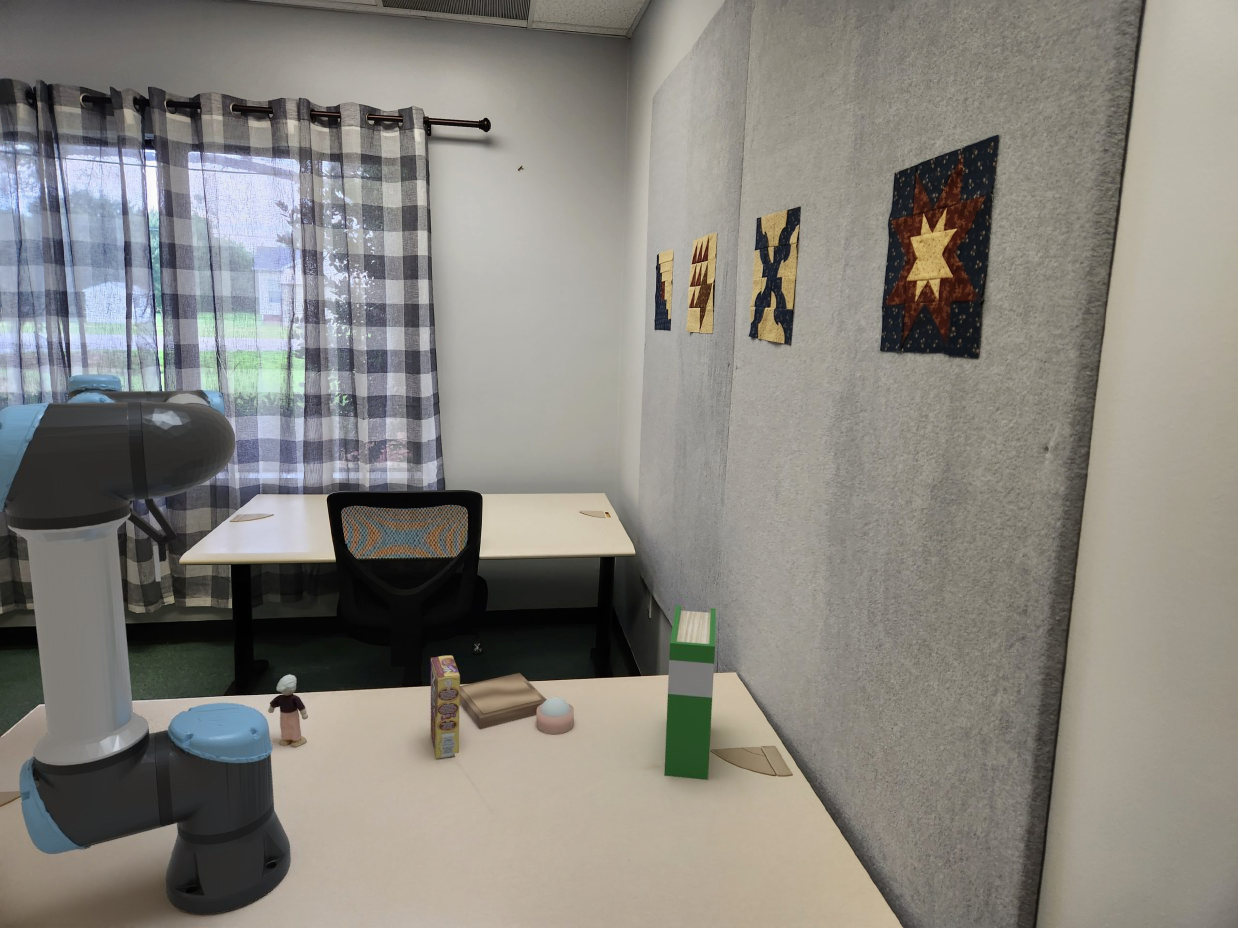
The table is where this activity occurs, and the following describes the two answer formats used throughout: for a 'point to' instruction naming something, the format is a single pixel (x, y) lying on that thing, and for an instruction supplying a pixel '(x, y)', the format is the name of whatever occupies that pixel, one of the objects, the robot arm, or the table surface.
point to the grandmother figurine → (289, 711)
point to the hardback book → (690, 694)
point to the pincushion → (555, 716)
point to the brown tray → (500, 700)
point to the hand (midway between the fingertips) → (113, 584)
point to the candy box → (445, 706)
